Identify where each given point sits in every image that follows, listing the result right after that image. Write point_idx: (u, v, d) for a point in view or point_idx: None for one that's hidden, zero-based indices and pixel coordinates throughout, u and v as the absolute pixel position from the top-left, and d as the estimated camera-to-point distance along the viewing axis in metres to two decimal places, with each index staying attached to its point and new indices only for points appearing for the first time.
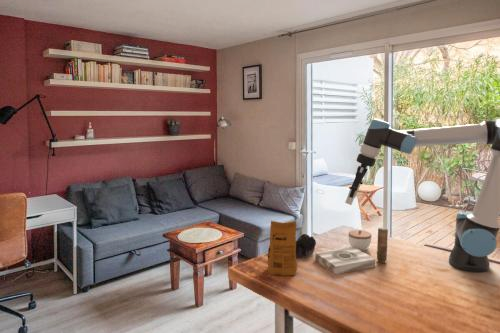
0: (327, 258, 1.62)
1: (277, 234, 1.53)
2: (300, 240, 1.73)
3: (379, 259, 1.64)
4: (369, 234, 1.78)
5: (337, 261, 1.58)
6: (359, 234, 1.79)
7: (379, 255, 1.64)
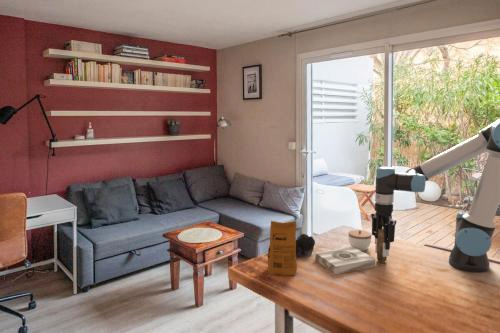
0: (327, 258, 1.62)
1: (277, 234, 1.53)
2: (299, 240, 1.73)
3: (379, 259, 1.64)
4: (369, 234, 1.78)
5: (337, 261, 1.58)
6: (359, 234, 1.79)
7: (379, 255, 1.64)
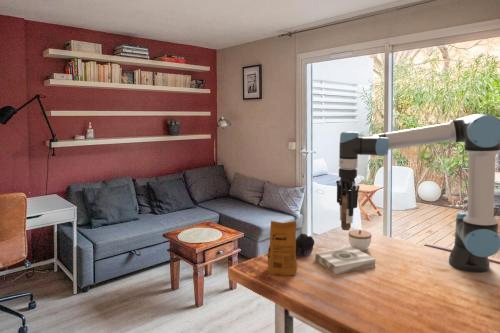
0: (327, 258, 1.62)
1: (277, 234, 1.53)
2: (299, 240, 1.73)
3: (343, 226, 1.61)
4: (369, 234, 1.78)
5: (337, 261, 1.58)
6: (359, 234, 1.79)
7: (343, 222, 1.61)
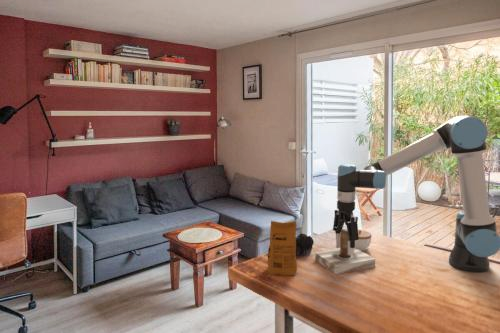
0: (327, 258, 1.62)
1: (277, 234, 1.53)
2: (298, 240, 1.73)
3: None
4: (369, 234, 1.78)
5: (337, 261, 1.58)
6: (359, 234, 1.79)
7: (342, 256, 1.63)
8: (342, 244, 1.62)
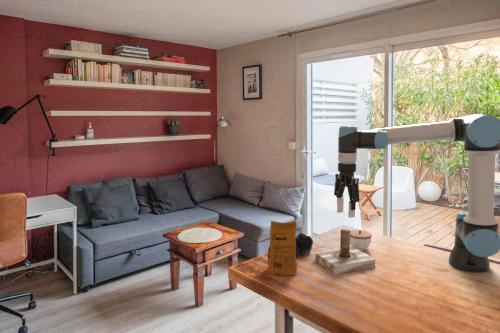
0: (327, 258, 1.62)
1: (277, 234, 1.53)
2: (297, 239, 1.74)
3: None
4: (369, 234, 1.78)
5: (337, 261, 1.58)
6: (359, 234, 1.79)
7: (342, 256, 1.63)
8: (342, 244, 1.62)
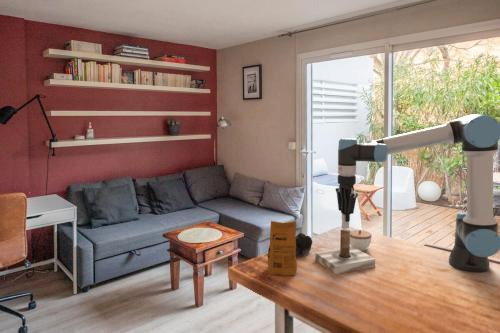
0: (327, 258, 1.62)
1: (277, 234, 1.53)
2: (297, 239, 1.74)
3: None
4: (369, 234, 1.78)
5: (337, 261, 1.58)
6: (359, 234, 1.79)
7: (342, 256, 1.63)
8: (342, 244, 1.62)
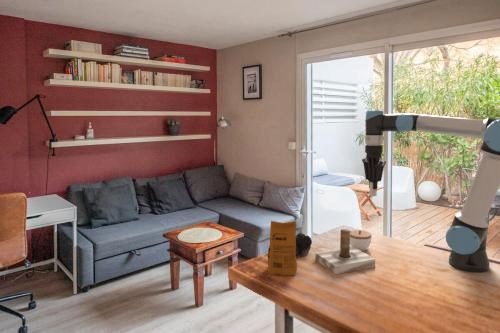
0: (327, 258, 1.62)
1: (277, 234, 1.53)
2: (296, 239, 1.74)
3: None
4: (369, 234, 1.78)
5: (337, 261, 1.58)
6: (359, 234, 1.79)
7: (342, 256, 1.63)
8: (342, 244, 1.62)
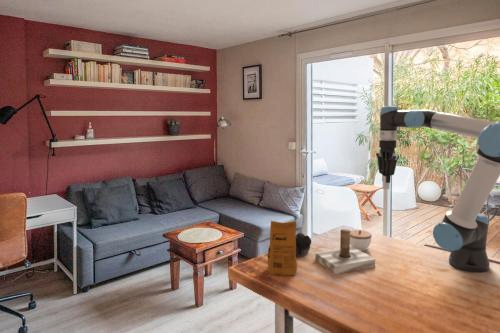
0: (327, 258, 1.62)
1: (277, 234, 1.53)
2: (296, 239, 1.74)
3: None
4: (369, 234, 1.78)
5: (337, 261, 1.58)
6: (359, 234, 1.79)
7: (342, 256, 1.63)
8: (342, 244, 1.62)
